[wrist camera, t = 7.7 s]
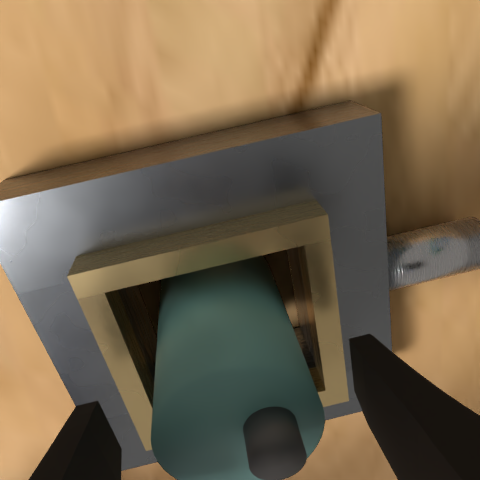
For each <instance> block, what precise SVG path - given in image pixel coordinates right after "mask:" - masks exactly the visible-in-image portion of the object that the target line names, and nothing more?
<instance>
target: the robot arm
mask: <svg viewBox="0 0 480 480" xmlns="http://www.w3.org/2000/svg"><path fill="white" fill-rule="evenodd" d="M349 345H350V355H351V364H352V374H353V383H354V391H355V394H356V396H357V399H358V401H359V404H360V406H361V409H362V411H363V413H364V416H365V418H366V421H367V423H368V425H369V427H370V429H371V431H372V433H373V435H374V436H375V438H376V440H377V442H378V444H379V446H380V447H381V449H382V451H383V453H384V455H385V457H386V458H387V460H388V462H389V464H390V466H391V468H392V469H393V471H394V473H395V475H396V477H397V478H398V480H480V415H478V414H476V413H475V412H473V411H472V410H470V409H469V408H467V407H465V406H464V405H462V404H461V403H459V402H458V401H457V400H455V399H454V398H452V397H451V396H449V395H448V394H446V393H445V392H443V391H442V390H441V389H439V388H438V387H436V386H435V385H434V384H432V383H431V382H430V381H428V380H427V379H426V378H424V377H423V376H422V375H420V374H419V373H418V372H416V371H415V370H414V369H413V368H411V367H410V366H409V365H408V364H406V363H405V362H404V361H403V360H401V359H400V358H399V357H398V356H396V355H395V354H394V353H393V352H392V351H390V350H389V349H388V348H387V347H386V346H385V345H383V344H382V343H381V342H380V341H379V340H378V339H377V338H375V337H374V336H373V335H371V334H366V335H362V336H358V337H354V338H350V339H349ZM121 460H122V449H121V446H120V444H119V442H118V440H117V438H116V436H115V434H114V432H113V430H112V428H111V426H110V424H109V422H108V420H107V418H106V416H105V414H104V412H103V410H102V408H101V405H100V403H99V401H94V402H90V403H86V404H82V405H78V406H76V407H75V409H74V411H73V412H72V414H71V415H70V417H69V418H68V420H67V421H66V423H65V424H64V426H63V428H62V429H61V431H60V432H59V434H58V435H57V437H56V439H55V440H54V442H53V443H52V445H51V446H50V448H49V450H48V451H47V453H46V454H45V456H44V457H43V459H42V460H41V462H40V463H39V465H38V466H37V468H36V469H35V471H34V472H33V474H32V476H31V477H30V479H29V480H121Z"/></svg>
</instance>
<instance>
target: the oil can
mask: <svg viewBox="0 0 480 480" xmlns="http://www.w3.org/2000/svg"><path fill="white" fill-rule="evenodd" d="M324 424H325V414H324V409H323V405H322V402H321V400H320V397H319V395H318V392H317V389H316V387H315V384H314V382H313V379H312V376H311V374H310V371H309V369H308V366H307V363H306V361H305V358H304V356H303V353H302V350H301V348H300V345H299V343H298V340H297V337H296V335H295V332H294V329H293V327H292V324H291V322H290V319H289V316H288V314H287V311H286V309H285V306H284V303H283V301H282V298H281V296H280V293H279V290H278V288H277V285H276V283H275V280H274V277H273V275H272V272H271V270H270V267H269V265H268V263H267V261H266V260H265V258H264V257H263V256H262V255H261V256H257V257H253V258H249V259H244V260H240V261H236V262H232V263H228V264H223V265H219V266H215V267H211V268H207V269H202V270H198V271H194V272H190V273H186V274H181V275H177V276H173V277H169V278H164V279H162V280H161V290H160V305H159V320H158V334H157V349H156V364H155V379H154V394H153V409H152V424H151V447H152V450H153V453H154V456H155V458H156V459H157V461H158V463H159V464H160V465H161V467H162V468H163V469H164V470H165V471H166V472H168V473H169V474H170V475H171V476H173V477H174V478H176V479H177V480H282V479H285V478H288V477H290V476H292V475H294V474H296V473H297V472H298V471H300V470H301V469H302V467H303V466H304V465H305V463H306V460H307V458H308V457H309V456H310V454H311V453H312V452H313V451H314V449H315V448H316V446H317V445H318V443H319V441H320V439H321V437H322V433H323V430H324Z"/></svg>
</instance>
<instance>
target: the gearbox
mask: <svg viewBox="0 0 480 480" xmlns="http://www.w3.org/2000/svg"><path fill="white" fill-rule="evenodd" d="M282 250H287V254H288V260H289V266H290V271H291V277H292V283H293V289H294V295H295V301H296V307H297V313H298V319H299V325H300V327H297V328H293V329H294V332H295V335H296V337H297V340H298V343H299V345H300V348H301V350H302V353H303V356H304V358H305V361H306V363H307V366H308V369H309V371H310V374H311V376H312V379H313V382H314V384H315V387H316V389H317V392H318V395H319V397H320V400H321V402H322V405H323V409H324V414H325V420H328V419H332V418H336V417H340V416H344V415H348V414H352V413H356V412H360V411H362V409H361V406H360V404H359V401H358V399H357V396H356V394H355V391H354V383H353V374H352V364H351V355H350V345H349V339H350V338H354V337H358V336H362V335H366V334H371V335H373V336H374V337H375V338H377V339H378V340H379V341H380V342H381V343H382V344H383V345H385V346H386V347H387V348H388V349H389V350H390V351H392V342H391V320H390V298H389V291H391V290H395V289H399V288H403V287H407V286H412V285H416V284H420V283H424V282H428V281H432V280H436V279H441V278H445V277H449V276H453V275H457V274H461V273H465V272H470V271H474V270H478V269H480V221H479V220H478V219H476V218H474V217H467V218H463V219H459V220H454V221H450V222H446V223H442V224H438V225H433V226H429V227H425V228H421V229H417V230H412V231H408V232H404V233H400V234H396V235H391V236H387V232H386V210H385V188H384V166H383V144H382V122H381V113H380V112H377V111H375V110H372V109H370V108H367V107H365V106H362V105H360V104H357V103H355V102H353V101H347V102H342V103H338V104H334V105H329V106H325V107H321V108H316V109H312V110H307V111H303V112H299V113H294V114H290V115H286V116H281V117H277V118H273V119H268V120H264V121H260V122H255V123H251V124H246V125H242V126H238V127H233V128H229V129H225V130H220V131H216V132H212V133H207V134H203V135H199V136H194V137H190V138H185V139H181V140H177V141H172V142H168V143H164V144H159V145H155V146H151V147H146V148H142V149H138V150H133V151H129V152H125V153H120V154H116V155H111V156H107V157H103V158H98V159H94V160H90V161H85V162H81V163H77V164H72V165H68V166H64V167H59V168H55V169H50V170H46V171H42V172H37V173H33V174H29V175H24V176H20V177H16V178H11V179H7V180H3V181H2V182H1V183H0V264H1V265H2V267H3V269H4V271H5V273H6V275H7V277H8V279H9V281H10V283H11V284H12V286H13V288H14V290H15V292H16V294H17V296H18V298H19V300H20V301H21V303H22V305H23V307H24V309H25V311H26V313H27V315H28V317H29V318H30V320H31V322H32V324H33V326H34V328H35V330H36V332H37V334H38V336H39V337H40V339H41V341H42V343H43V345H44V347H45V349H46V351H47V353H48V354H49V356H50V358H51V360H52V362H53V364H54V366H55V368H56V370H57V371H58V373H59V375H60V377H61V379H62V381H63V383H64V385H65V387H66V389H67V390H68V392H69V394H70V396H71V398H72V400H73V402H74V404H75V406H78V405H82V404H86V403H90V402H94V401H99V403H100V405H101V408H102V410H103V412H104V414H105V416H106V418H107V420H108V422H109V424H110V426H111V428H112V430H113V432H114V434H115V436H116V438H117V440H118V442H119V444H120V446H121V449H122V460H121V471H123V470H127V469H131V468H135V467H139V466H143V465H147V464H151V463H155V462H158V461H157V459H156V458H155V456H154V453H153V450H152V447H151V424H152V409H153V394H154V379H155V364H156V349H157V337H156V334H155V331H154V329H153V326H152V323H151V320H150V318H149V315H148V312H147V310H146V307H145V304H144V301H143V299H142V296H141V293H140V291H139V288H138V285H139V284H143V283H148V282H152V281H156V280H160V279H164V278H169V277H173V276H177V275H181V274H186V273H190V272H194V271H198V270H202V269H207V268H211V267H215V266H219V265H223V264H228V263H232V262H236V261H240V260H244V259H249V258H253V257H257V256H261V255H266V254H270V253H274V252H278V251H282Z"/></svg>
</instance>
